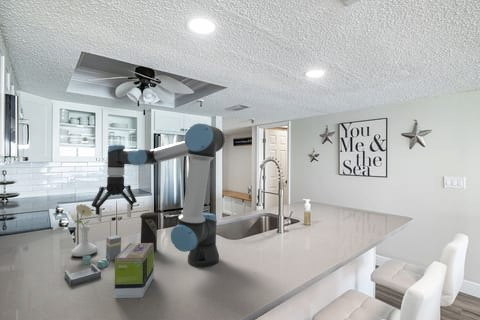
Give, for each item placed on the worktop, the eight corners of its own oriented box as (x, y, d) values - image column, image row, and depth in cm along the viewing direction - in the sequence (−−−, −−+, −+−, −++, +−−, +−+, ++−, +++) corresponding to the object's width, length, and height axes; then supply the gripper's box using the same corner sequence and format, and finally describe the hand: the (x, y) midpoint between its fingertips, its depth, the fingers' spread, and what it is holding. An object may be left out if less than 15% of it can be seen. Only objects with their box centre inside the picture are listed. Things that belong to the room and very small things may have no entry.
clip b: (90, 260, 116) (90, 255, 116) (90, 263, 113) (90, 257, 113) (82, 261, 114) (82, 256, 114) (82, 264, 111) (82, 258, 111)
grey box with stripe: (120, 257, 120) (121, 237, 120) (109, 260, 117) (110, 239, 117) (116, 254, 124) (117, 234, 124) (106, 257, 120) (106, 237, 120)
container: (151, 254, 125) (152, 215, 125) (135, 252, 127) (136, 214, 127) (160, 248, 133) (161, 212, 133) (145, 246, 135) (146, 210, 135)
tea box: (129, 278, 100) (130, 242, 100) (154, 277, 101) (155, 242, 101) (113, 299, 85) (114, 256, 85) (142, 298, 86) (143, 256, 86)
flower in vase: (102, 252, 126) (103, 204, 126) (80, 260, 115) (81, 207, 115) (86, 248, 131) (87, 201, 131) (63, 255, 121) (64, 205, 121)
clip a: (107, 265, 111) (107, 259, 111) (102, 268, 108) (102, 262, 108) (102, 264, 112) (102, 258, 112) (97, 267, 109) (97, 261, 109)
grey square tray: (100, 277, 100) (100, 271, 100) (71, 286, 93) (71, 279, 93) (92, 268, 107) (92, 263, 107) (64, 276, 100) (64, 270, 100)
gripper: (137, 174, 132) (136, 214, 132) (84, 176, 114) (83, 221, 114) (143, 175, 127) (142, 216, 127) (89, 177, 109) (88, 224, 109)
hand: (114, 219), depth 121 cm, fingers open, 13 cm apart
